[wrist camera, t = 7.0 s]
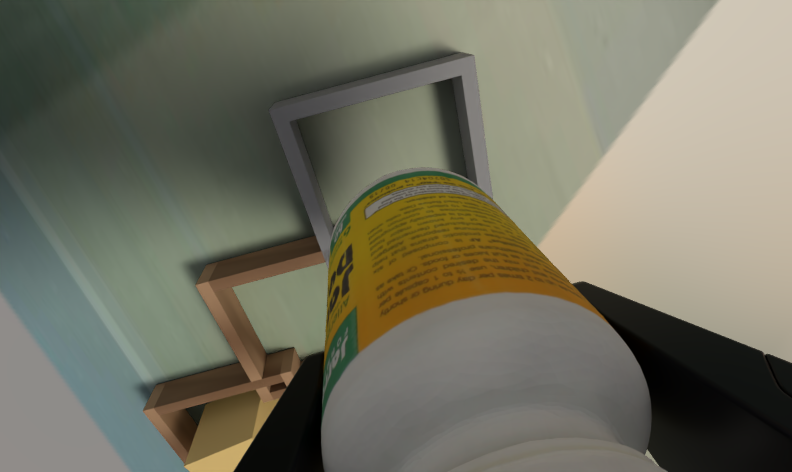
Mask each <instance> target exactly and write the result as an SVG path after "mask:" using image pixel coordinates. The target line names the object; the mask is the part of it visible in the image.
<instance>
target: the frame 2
mask: <svg viewBox="0 0 792 472" xmlns="http://www.w3.org/2000/svg"><path fill="white" fill-rule="evenodd" d="M300 364H301V361H300V359H299V357H298V355H297V352H296V350H295V348H292V349H288V350H284V351H280V352H277V353H273V354H269V355H267V359H266V363H265V368H264V373H263V377H262V379H260V380H257V381H256V382H255V381H253V382H254V383H252V382H251V381H250V379H249V377H248V375H247V374H246V372H245V370H244V369H243V367H242V365H241V363H236V364H232V365H228V366H225V367H221V368H217V369H214V370H210V371H206V372H202V373H199V374H195V375H191V376H188V377H184V378H180V379H176V380H173V381H169V382H165V383H161V384H158V385H156V386H155V388H154V390H153V392H152V394H151V396H150V398H149V400H148V402H147V404H146V406H145V408H144V410H143V412H144V413H145V415H146V416H147V417H148V418H149V420H150V421H151V422H152V423H153V425H154V426H155V427H156V428H157V430H158V431H159V432H160V433H161V435H162V436H163V437H164V438H165V440H166V441H167V442H168V443H169V445H170V446H171V447H172V448H173V450H174V451H175V452H176V453H177V455H178V456H179V457H180V458H181V460H182V461H183V462H184V463H185V462H186V459H187V456H188V453H189V450H190V448H191V445H192V442H193V439H194V436H195V433H196V431H197V428H198V426H197V424H196V423H195V422H194V420H193V419H192V418H191V416H190V415H189V413H188V412H187V411H186V409H185V408H189V407H192V406H196V405H200V404H204V403H207V402H211V401H215V400H219V399H222V398H226V397H230V396H233V395H237V394H241V393H245V392H248V391H252V390H256V389H259V388H263V387H267V386H271V385H274V384H278V383H282V382H285V384H286V386H288V385H289V383H290V381H291V380H292V378H293V377H294V375H295V374H296V372H297V370H298V369H299V367H300ZM257 382H258V384H257ZM259 382H260V383H259Z"/></svg>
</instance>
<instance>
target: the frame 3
mask: <svg viewBox="0 0 792 472" xmlns="http://www.w3.org/2000/svg"><path fill="white" fill-rule="evenodd" d="M450 78H452V83H453V89H454V96H455V102H456V108H457V115H458V121H459V127H460V133H461V140H462V146H463V152H464V159H465V165H466V171H467V178H468V180H470V181H472V182H473V183H475V184H476V185H477V186H479V187H480V188H481V189H482V190H483V191H484V192H485V193H486V194H487V195H488V196H489V197H491V199H492V200H493V195H492V187H491V180H490V172H489V164H488V157H487V149H486V141H485V134H484V126H483V118H482V111H481V103H480V95H479V88H478V80H477V72H476V65H475V57H474V55H472V54H467V53H463V52H461V53H458V54H454V55H450V56H446V57H443V58H439V59H435V60H431V61H428V62H424V63H420V64H416V65H413V66H409V67H405V68H402V69H398V70H394V71H390V72H387V73H383V74H379V75H375V76H372V77H368V78H364V79H361V80H357V81H353V82H349V83H346V84H342V85H338V86H334V87H331V88H327V89H323V90H320V91H316V92H312V93H308V94H305V95H301V96H297V97H293V98H290V99H286V100H282V101H279V102H275V103H274V104H273V105H272V107H271V108H270V109H269V113H270V116H271V118H272V121H273V124H274V126H275V129H276V132H277V134H278V137H279V140H280V142H281V145H282V148H283V150H284V153H285V155H286V158H287V161H288V163H289V166H290V169H291V171H292V174H293V177H294V179H295V182H296V185H297V187H298V190H299V193H300V195H301V198H302V201H303V203H304V206H305V209H306V211H307V214H308V217H309V219H310V222H311V225H312V227H313V230H314V233H315V235H316V238H317V241H318V243H319V246H320V248H321V251H322V252H323V253H322V254H323V256H324V258H326V260H325V262H326V264H327V267H328V270H329V261H328V259H329V257H327V256H328V255H329V254H328V253H329V251H330V242H331V237H332V233H333V229H334V228H333V225H332V222H331V219H330V216H329V213H328V210H327V208H326V205H325V202H324V199H323V196H322V193H321V190H320V187H319V185H318V182H317V179H316V176H315V173H314V170H313V167H312V164H311V162H310V159H309V156H308V153H307V150H306V147H305V144H304V142H303V139H302V136H301V133H300V130H299V127H298V124H297V121H296V120H297V119H301V118H304V117H308V116H312V115H315V114H319V113H323V112H327V111H330V110H334V109H338V108H342V107H345V106H349V105H353V104H356V103H360V102H364V101H368V100H371V99H375V98H379V97H383V96H386V95H390V94H394V93H397V92H401V91H405V90H409V89H412V88H416V87H420V86H424V85H427V84H431V83H435V82H438V81H442V80H446V79H450ZM325 252H327V253H326V254H325ZM324 254H325V255H327V254H328V255H327V256H325V255H324Z"/></svg>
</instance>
